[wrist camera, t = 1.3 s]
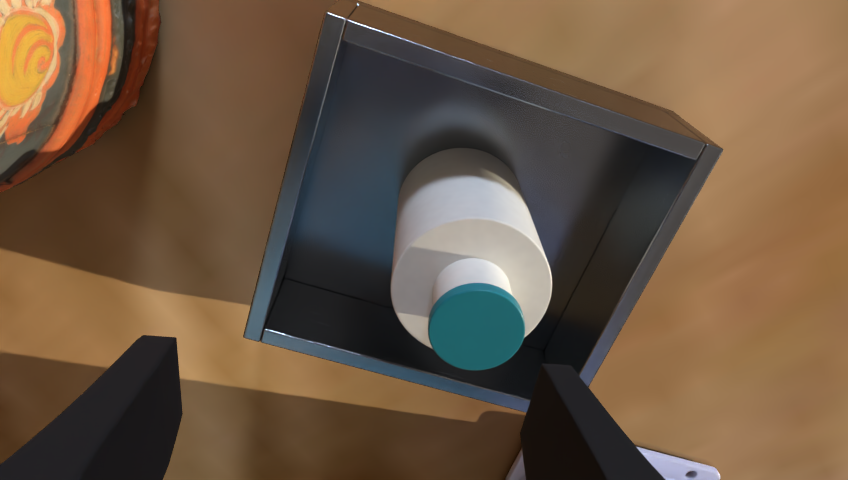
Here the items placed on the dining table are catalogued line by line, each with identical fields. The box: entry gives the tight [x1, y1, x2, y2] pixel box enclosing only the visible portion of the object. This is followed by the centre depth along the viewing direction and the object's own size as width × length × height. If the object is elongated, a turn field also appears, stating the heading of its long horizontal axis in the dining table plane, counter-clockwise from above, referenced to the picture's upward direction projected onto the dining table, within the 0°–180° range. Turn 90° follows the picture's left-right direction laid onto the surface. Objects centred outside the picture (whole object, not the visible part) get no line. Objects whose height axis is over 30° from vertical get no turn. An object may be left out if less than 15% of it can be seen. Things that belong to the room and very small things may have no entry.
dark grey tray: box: [243, 0, 723, 413], centre depth 22 cm, size 12×11×4 cm
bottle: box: [391, 148, 552, 370], centre depth 20 cm, size 5×5×8 cm
